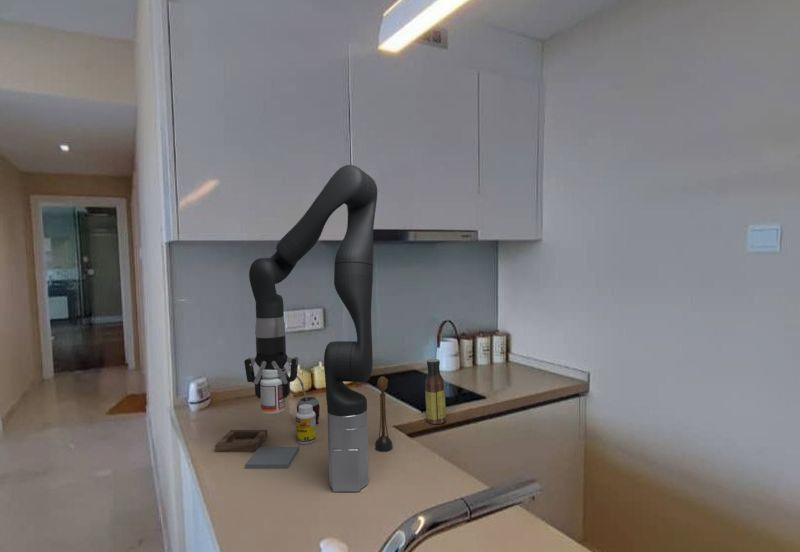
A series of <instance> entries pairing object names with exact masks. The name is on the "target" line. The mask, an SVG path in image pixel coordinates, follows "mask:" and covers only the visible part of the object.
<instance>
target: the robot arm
mask: <svg viewBox="0 0 800 552" xmlns="http://www.w3.org/2000/svg"><path fill="white" fill-rule="evenodd" d="M377 202H378V186H377V183H376V182H375V179H373V177H372V176H371V175H369V174H368V173H366V171H364V170H362V169H361V168H360V167H358V166H356V165H353V164H346V165H343V166H341V167H340V168H339V169H337V170H336V171H335V172H334V174H333V175H332V176H331V177H330V179H328V181H327V182H326V184H325V186H324V187H323V188H322V190H321V191H320V193H319V194H318V195H317V196H316V198H315V199H314V201H313V202H312V204H311V205H310V206H309V208H308V209H307V210H306V212H305V213H304V214H303V216H301V218H300V219H299V220H298V222H297V223H296V224H295V225H294V226H293V227H292V228H291V229H290V230H289V231H287V232H286V234H284V236H283V237H282V238H280V239H279V241H278V243H276V247H275V250H276V252H275V253H273V254H272V255H271V256H270V257H260V258H256V259H255V260H254V261H253V262H252V263H251V265H250V268H249V271H248V279H249V284H250V287H251V291H252V295H253V298H254V301H255V327H254V328H255V331H254V335H255V352H256V354H255V357H248V358H245V360H244V361H243V363H244V370H245V376H246V380H247V381H246V382H248V383H253V384H254V395H255V396H256V397H257V399H261V395H260V381H261V379H262V378H264V377H262V370H265V369H266V370H277V371H278V376H279V377H280V378H281V380H282V381H283V383H284V384H283V398H285V399H287V398H288V397H289V395H290V393H291V384H290V383H291V382H294V381H296V379H298V378H297V376H298V367H299V357H298V356H295V357H289V356H288V354H287V346H286V345H287V344H286V323H285V322H286V321H285V313H284V309H285V308H284V299H283V296H282V295H280V294H278V293H277V289H276V285H277V284H280V283H281V282H283V281H284V280H286V278H287V277H288V276H289V275H290V274H291V272H293V270H294V269H295V267H296V266H297V263H298V262H299V261H300V260H301V259H302V258H303V257H304V256H306V255H307V253H309V251H310V250H312V249H313V247H314V246H315V245H316V244H317V242H318V241H319V240H320V238H321V235H322V233H323V230H324V228H325V225H326V224H327V222H328V221H329V218H331V216H332V215H333V213H334V212H335V211H337V210H338V209H339V208H340V207H342V206H343V205H346V209H347V225H346V232H345V234H344V236H343V239H342V241H341V243H340V244H339V246H338V249H337V251H336V254H335V258H334V268H333V270H334V273H333V286H334V289H335V292H336V293H337V295H338V297H339V299H340V300H341V302H342V303H343V305H344V307H345V309H347V311H348V313H349V315H350V318H351V319H352V322H353V324H354V328H355V333H356V340H355V341H353V340H352V341H351V340H348V341H346V340H344V341H341V340H340V341H339V340H338V341H337V340H335V341H330V342H329V343H328V344H327V345H326V346H325V349H324V354H323V367H324V368H323V370H324V371H323V372H324V380H325V396H326V405H327V410H326V412H327V448H328V449H327V452H328V484H329V485H328V486H329V487H330V488H332V492H337V493H340V492H349V493H350V492H354V493H356V492H361V489H363V488H365V487H366V486H367V485H368V483H369V481H370V479H369V478H370V477H369V476H370V475H369V443H368V442H369V441H368V439H369V438H368V400H367V398H366V396H365V395H364V394H362V393H361V392H357V391H356V390H353V389H351V388H349V386H347V385H346V384H345V383H344V382H350V383H352V382H353V383H357V382H358V383H363V382H368V381H369V380H370V379H371V376H372V373H373V365H374V364H373V335H372V334H373V333H372V332H373V330H372V300H373V299H372V298H373V297H372V296H373V283H374V282H373V279H374V277H373V275H374V263H373V262H374V257H373V256H374V225H375V216H376V209H377ZM287 362H288V366H289V367H290V370H289V371H290V372H289V373H288V370H287V369H286V367H285V365H286V364H287ZM255 364H256V365H257V367H259V369H258V370H257V373H256V374H255V369H254V366H255ZM281 369H282V370H281Z"/></svg>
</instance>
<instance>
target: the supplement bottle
mask: <svg viewBox="0 0 800 552" xmlns="http://www.w3.org/2000/svg"><path fill="white" fill-rule="evenodd" d="M298 411H299V412H298V413H297V412H296V414H295V432H296V437H295V438H296V441H297V443H298V444H301V445H308V444H312V443H314V442H315V441H316V439H317V424H316V414H315V412H314V411H313V406H312V405H310V404H303V405H300V406H299V410H298Z"/></svg>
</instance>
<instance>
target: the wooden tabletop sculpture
mask: <svg viewBox="0 0 800 552" xmlns="http://www.w3.org/2000/svg"><path fill="white" fill-rule="evenodd" d="M388 383H389V379H388V378H386V377H385V376H380V377H379V378H378V379H377V384H376V386H377V389H378V390H379V391H380V393H379V406H380V407H379V408H380V412H379V413H380V414H379V415H380V416H379V417H380V419H379V432H378V438H377V439H376V441H375V444H374V449H375V451H377V452H380V453H387V452H390V451H392V450H393V448H394V446H393V442H392V440H391V438H390V437H389V433H388V426H387V414H386V413H387V411H386V410H387V409H386V395H387V394H386V393H385V391H386V390H387V388H388Z"/></svg>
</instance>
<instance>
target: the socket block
mask: <svg viewBox="0 0 800 552" xmlns="http://www.w3.org/2000/svg"><path fill="white" fill-rule="evenodd" d="M267 438H268V429H231V430H229V431H228V432H227V433H226V434H225V435H224V436H223V437H222V438H220V439H219V441H218V442H216V443H215V445H214V449H215V450H214V451H215V453H255V452H256V450H257V449H258V448H259V447H261V445H262V444H263V442H264V441H266V439H267ZM249 439H250V440H251V439H252V440H251V441H248V442H243V441H242V442H241V441H239V442H238V441H237V442H235V441H234V440H249Z"/></svg>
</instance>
